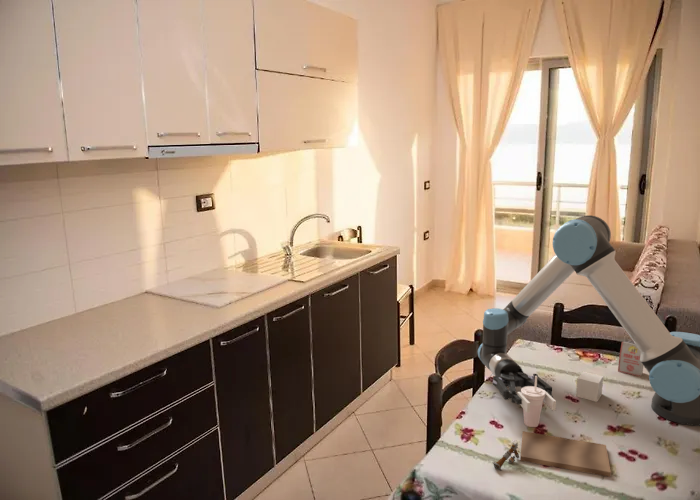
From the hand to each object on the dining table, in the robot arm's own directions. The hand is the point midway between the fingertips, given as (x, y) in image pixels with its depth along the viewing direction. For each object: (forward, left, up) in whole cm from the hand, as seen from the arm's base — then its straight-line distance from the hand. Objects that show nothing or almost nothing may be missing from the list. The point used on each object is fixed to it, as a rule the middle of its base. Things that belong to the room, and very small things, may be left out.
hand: (541, 406), depth 143 cm
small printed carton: (-28, -49, -8) cm, 57 cm away
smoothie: (+2, -4, -8) cm, 9 cm away
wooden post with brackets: (+7, +17, -8) cm, 20 cm away
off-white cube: (-14, -27, -8) cm, 32 cm away
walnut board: (-6, +9, -8) cm, 13 cm away
